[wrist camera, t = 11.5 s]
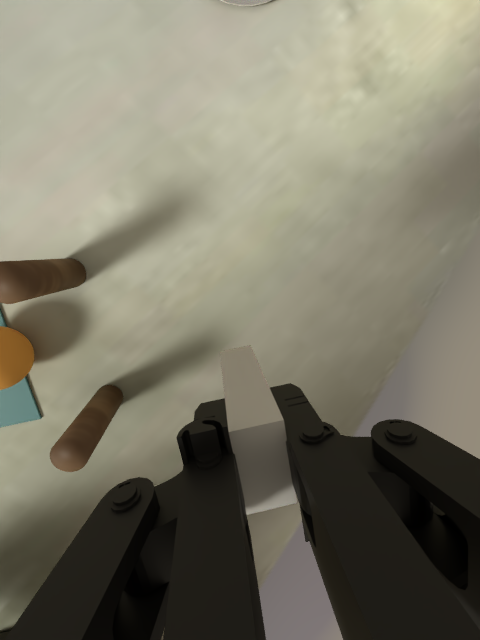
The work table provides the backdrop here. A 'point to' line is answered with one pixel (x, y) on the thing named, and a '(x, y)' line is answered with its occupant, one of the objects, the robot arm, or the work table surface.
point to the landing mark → (17, 401)
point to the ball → (14, 357)
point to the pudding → (245, 2)
